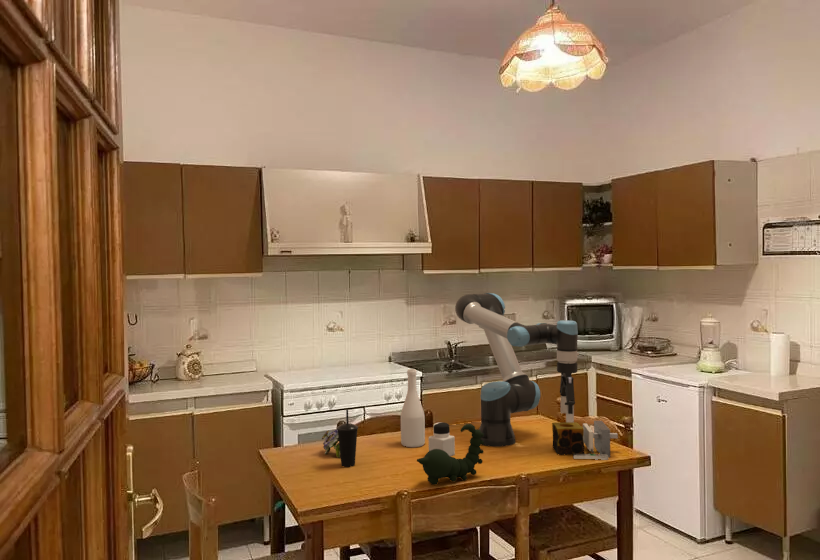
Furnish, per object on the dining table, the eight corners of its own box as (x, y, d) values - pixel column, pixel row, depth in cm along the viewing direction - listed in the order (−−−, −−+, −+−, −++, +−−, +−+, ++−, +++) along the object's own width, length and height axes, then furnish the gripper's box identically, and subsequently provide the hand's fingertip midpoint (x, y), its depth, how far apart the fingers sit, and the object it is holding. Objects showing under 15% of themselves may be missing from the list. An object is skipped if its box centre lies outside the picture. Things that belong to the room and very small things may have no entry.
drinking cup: (342, 469, 222) (341, 412, 221) (334, 463, 229) (333, 408, 228) (362, 466, 225) (361, 410, 225) (353, 460, 232) (353, 406, 232)
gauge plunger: (591, 453, 229) (590, 434, 229) (582, 441, 245) (582, 423, 245) (623, 453, 228) (623, 434, 228) (613, 441, 244) (613, 423, 244)
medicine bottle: (455, 455, 237) (454, 423, 237) (442, 459, 232) (442, 426, 232) (440, 451, 242) (440, 420, 242) (428, 455, 237) (427, 423, 236)
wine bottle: (429, 445, 251) (428, 369, 250) (409, 449, 245) (408, 372, 245) (416, 440, 259) (414, 366, 258) (396, 444, 253) (395, 369, 253)
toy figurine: (470, 475, 218) (407, 482, 206) (473, 420, 219) (411, 423, 206) (487, 483, 210) (422, 490, 198) (490, 426, 211) (426, 429, 198)
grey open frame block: (574, 459, 229) (573, 432, 229) (566, 446, 246) (566, 420, 246) (612, 460, 228) (612, 432, 228) (602, 446, 245) (601, 420, 245)
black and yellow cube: (584, 455, 234) (584, 428, 234) (557, 455, 235) (557, 428, 234) (578, 447, 244) (578, 421, 244) (552, 447, 245) (551, 422, 245)
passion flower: (327, 468, 241) (317, 439, 246) (354, 459, 245) (344, 431, 250) (330, 458, 232) (320, 428, 237) (358, 449, 236) (347, 420, 241)
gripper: (583, 367, 226) (583, 426, 227) (571, 356, 251) (571, 409, 252) (561, 367, 227) (561, 426, 228) (552, 356, 252) (552, 409, 252)
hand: (566, 417), depth 240 cm, fingers open, 13 cm apart
